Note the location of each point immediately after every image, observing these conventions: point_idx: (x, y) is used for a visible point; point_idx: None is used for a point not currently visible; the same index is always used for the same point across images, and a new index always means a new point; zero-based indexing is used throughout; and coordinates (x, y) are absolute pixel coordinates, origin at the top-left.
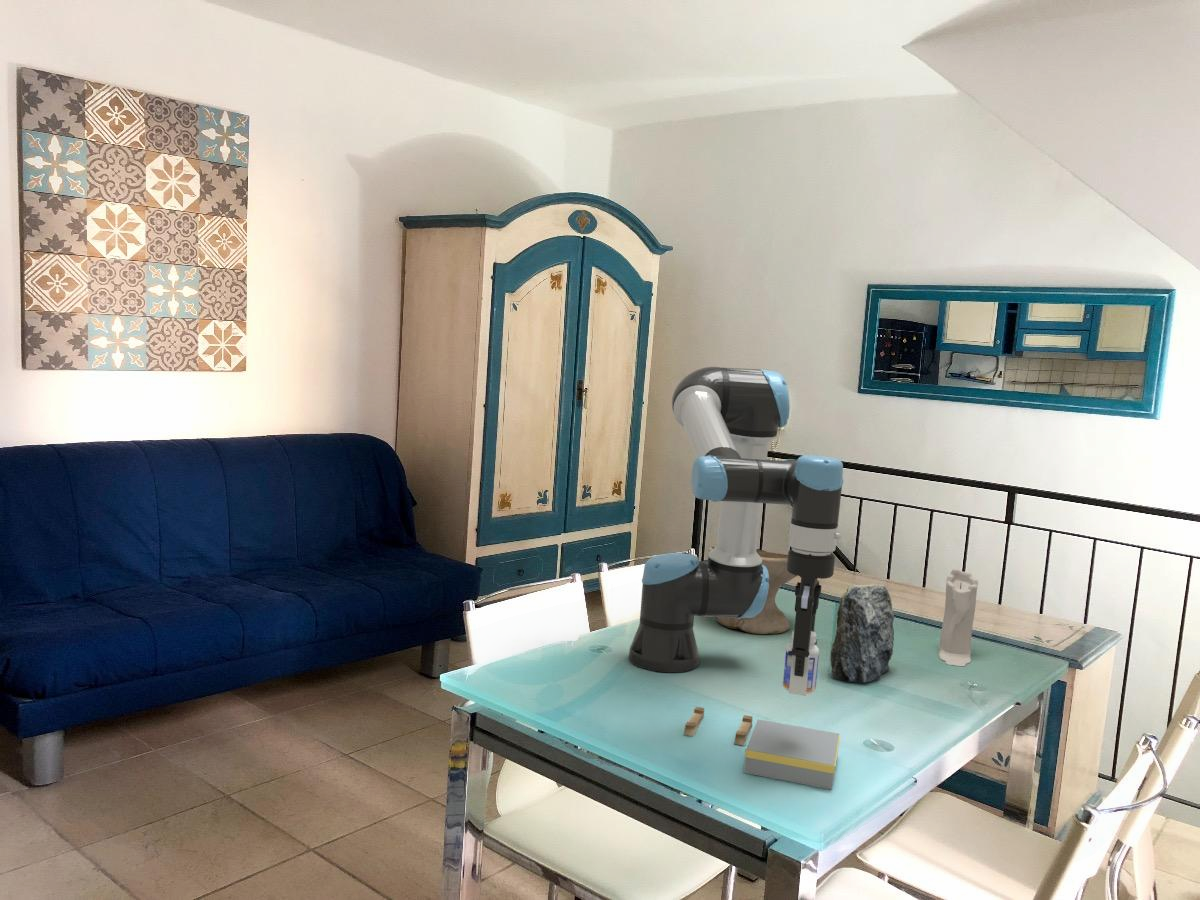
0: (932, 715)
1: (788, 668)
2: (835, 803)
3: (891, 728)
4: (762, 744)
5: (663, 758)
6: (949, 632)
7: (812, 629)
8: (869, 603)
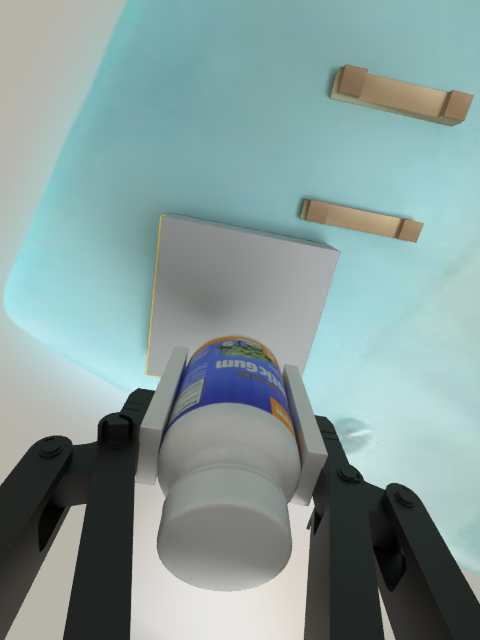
0: (470, 518)
1: (196, 377)
2: (111, 353)
3: (414, 462)
4: (199, 253)
5: (188, 18)
6: None
7: (309, 584)
8: None
